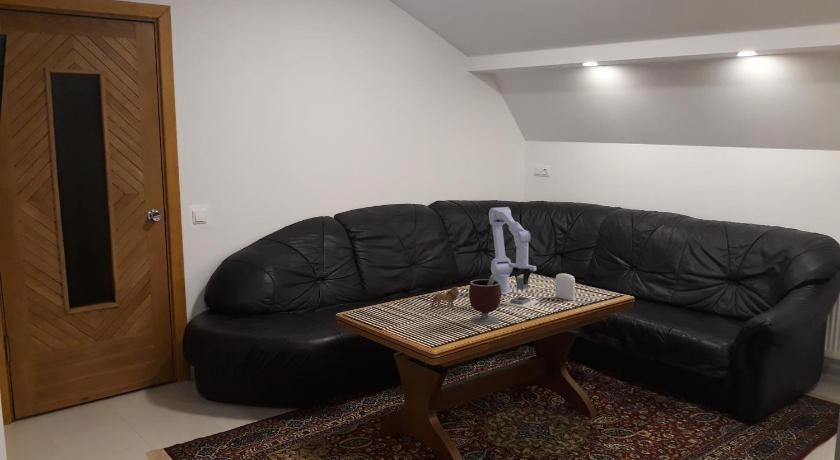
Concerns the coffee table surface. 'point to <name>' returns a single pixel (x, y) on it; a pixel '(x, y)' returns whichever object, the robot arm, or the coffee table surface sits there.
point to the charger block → (521, 283)
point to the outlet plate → (520, 302)
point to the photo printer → (565, 286)
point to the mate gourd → (485, 299)
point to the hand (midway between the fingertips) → (522, 283)
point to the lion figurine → (446, 297)
